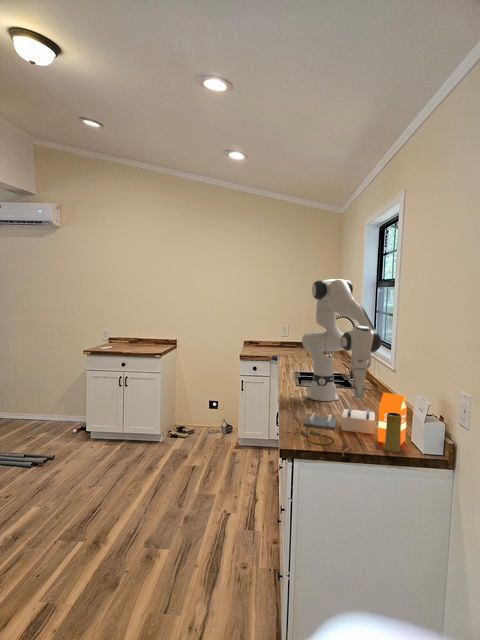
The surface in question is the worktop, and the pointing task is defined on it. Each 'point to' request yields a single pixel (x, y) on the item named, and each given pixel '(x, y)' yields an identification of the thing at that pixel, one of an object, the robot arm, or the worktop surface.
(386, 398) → the orange juice
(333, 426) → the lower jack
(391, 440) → the vase
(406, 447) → the worktop surface
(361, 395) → the plug
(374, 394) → the worktop surface
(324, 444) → the coiled cable
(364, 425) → the block
